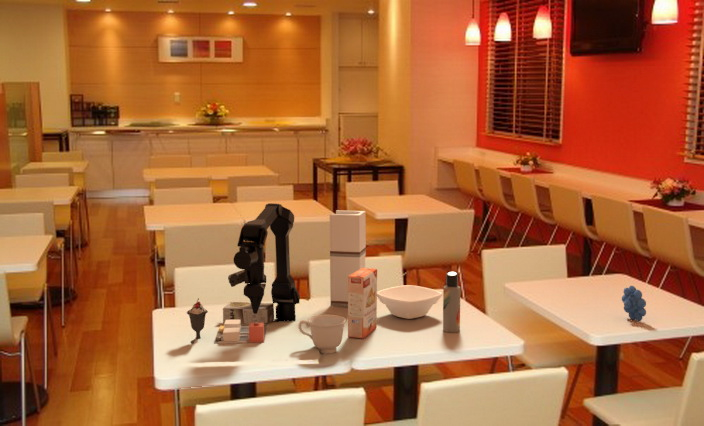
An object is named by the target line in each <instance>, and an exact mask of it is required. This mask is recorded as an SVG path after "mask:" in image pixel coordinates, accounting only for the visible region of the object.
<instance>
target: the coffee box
mask: <svg viewBox="0 0 704 426" xmlns="http://www.w3.org/2000/svg"><path fill="white" fill-rule="evenodd" d="M274 304H275V303H273V302H261V304H260V307H259V309H258V312H257V314H254V313H253V310H252V306H251V302H241V301H240V302H239V301H237V302H235V301H233V302H232V301H230V302H229V303H228V304H226V305H225V306H223V308H222V323H223V324H224V323H225V320H241V324H245V325H250V323H255V322H258V323H264V325H270V323H273V322H274V321H275V307H274V306H275V305H274Z"/></svg>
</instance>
